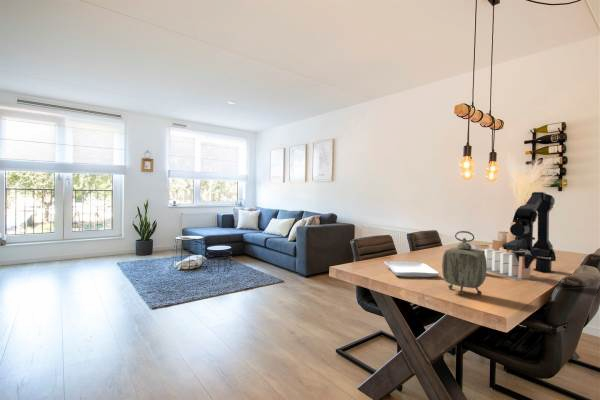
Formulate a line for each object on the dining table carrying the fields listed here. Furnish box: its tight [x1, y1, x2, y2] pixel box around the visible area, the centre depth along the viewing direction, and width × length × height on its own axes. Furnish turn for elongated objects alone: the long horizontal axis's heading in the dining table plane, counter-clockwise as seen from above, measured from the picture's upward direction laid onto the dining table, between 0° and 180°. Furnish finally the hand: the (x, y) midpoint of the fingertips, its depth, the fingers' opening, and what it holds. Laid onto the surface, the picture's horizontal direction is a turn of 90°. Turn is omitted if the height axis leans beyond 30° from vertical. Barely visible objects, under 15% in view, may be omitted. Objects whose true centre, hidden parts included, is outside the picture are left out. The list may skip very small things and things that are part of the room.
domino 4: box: [509, 254, 519, 276], centre depth 150 cm, size 5×2×10 cm, turn 103°
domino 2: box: [492, 250, 504, 271], centre depth 160 cm, size 5×2×10 cm, turn 102°
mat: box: [486, 268, 538, 281], centre depth 156 cm, size 12×26×1 cm, turn 12°
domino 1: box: [484, 248, 496, 269], centre depth 165 cm, size 5×2×10 cm, turn 102°
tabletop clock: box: [441, 230, 487, 296], centre depth 123 cm, size 14×9×25 cm, turn 48°
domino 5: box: [518, 257, 532, 279], centre depth 146 cm, size 5×2×10 cm, turn 103°
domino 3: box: [500, 252, 513, 273], centre depth 155 cm, size 5×2×10 cm, turn 102°
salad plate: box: [383, 261, 440, 278], centre depth 155 cm, size 21×21×3 cm
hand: (524, 267), depth 146 cm, fingers open, 2 cm apart
